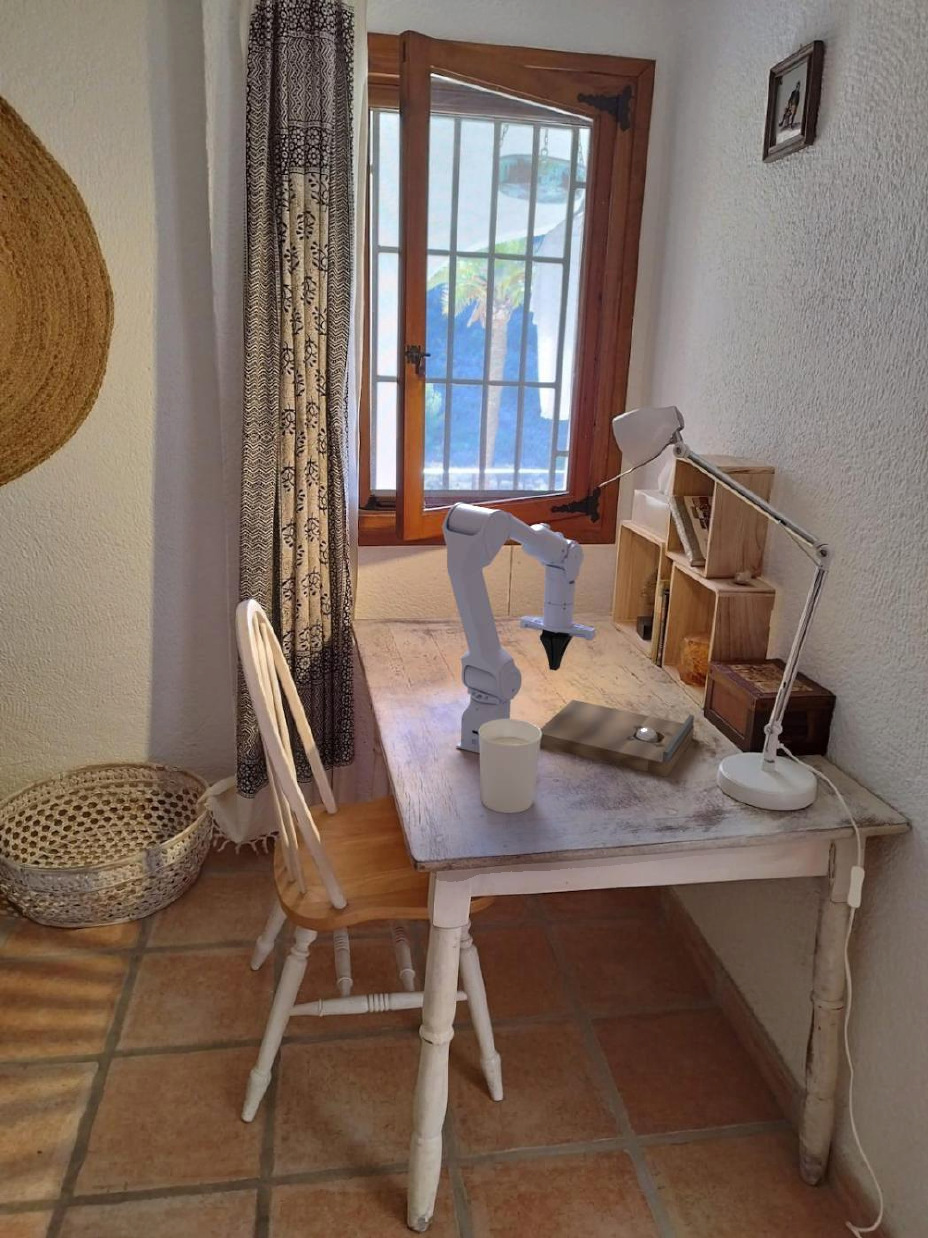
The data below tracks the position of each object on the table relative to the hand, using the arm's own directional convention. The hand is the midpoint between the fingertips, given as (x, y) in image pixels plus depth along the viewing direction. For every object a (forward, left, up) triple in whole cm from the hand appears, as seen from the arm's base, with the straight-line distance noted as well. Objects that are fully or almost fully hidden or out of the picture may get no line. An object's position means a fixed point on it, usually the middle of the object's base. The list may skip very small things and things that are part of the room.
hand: (554, 668), depth 172 cm
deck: (-6, -16, -9) cm, 20 cm away
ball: (-6, -21, -7) cm, 23 cm away
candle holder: (-36, -7, -10) cm, 38 cm away
